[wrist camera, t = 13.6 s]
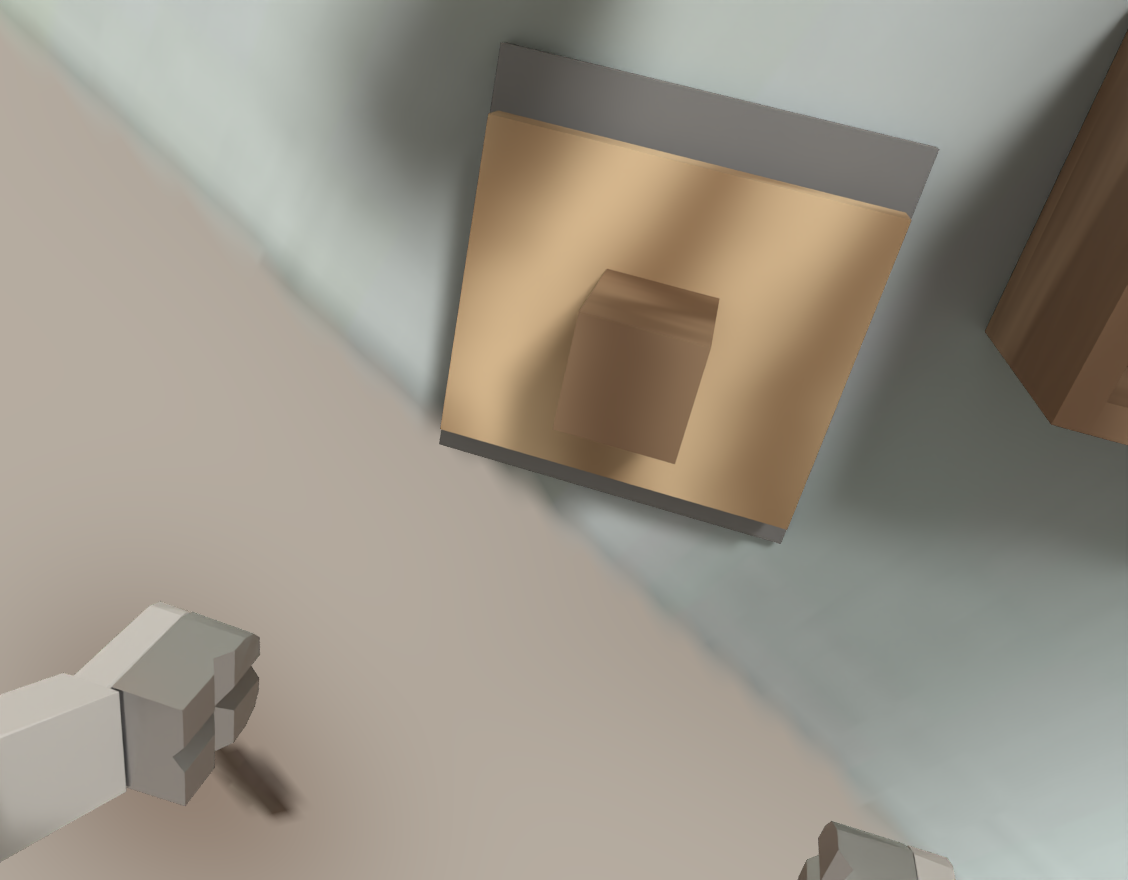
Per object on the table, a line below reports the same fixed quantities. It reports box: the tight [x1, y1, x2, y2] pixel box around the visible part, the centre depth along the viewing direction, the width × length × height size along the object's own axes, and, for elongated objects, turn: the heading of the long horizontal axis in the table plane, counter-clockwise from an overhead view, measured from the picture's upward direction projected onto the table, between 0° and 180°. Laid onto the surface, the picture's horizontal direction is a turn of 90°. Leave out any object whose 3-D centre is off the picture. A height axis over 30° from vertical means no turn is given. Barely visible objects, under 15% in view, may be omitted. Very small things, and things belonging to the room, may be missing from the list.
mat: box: [439, 43, 939, 544], centre depth 32 cm, size 15×16×1 cm
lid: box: [440, 111, 911, 530], centre depth 29 cm, size 14×12×7 cm
